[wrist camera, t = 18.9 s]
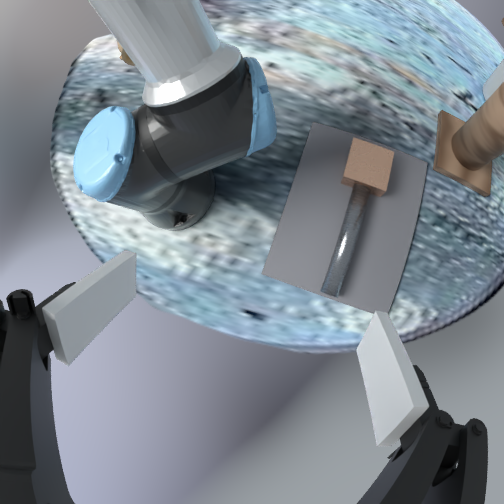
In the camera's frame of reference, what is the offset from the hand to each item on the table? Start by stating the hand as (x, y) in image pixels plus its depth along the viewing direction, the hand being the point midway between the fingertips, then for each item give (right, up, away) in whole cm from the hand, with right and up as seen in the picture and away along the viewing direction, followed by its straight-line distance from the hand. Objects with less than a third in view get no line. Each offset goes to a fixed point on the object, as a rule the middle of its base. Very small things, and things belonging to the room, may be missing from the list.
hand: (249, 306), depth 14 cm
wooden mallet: (+16, +8, +28) cm, 33 cm away
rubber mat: (+17, +9, +28) cm, 34 cm away
